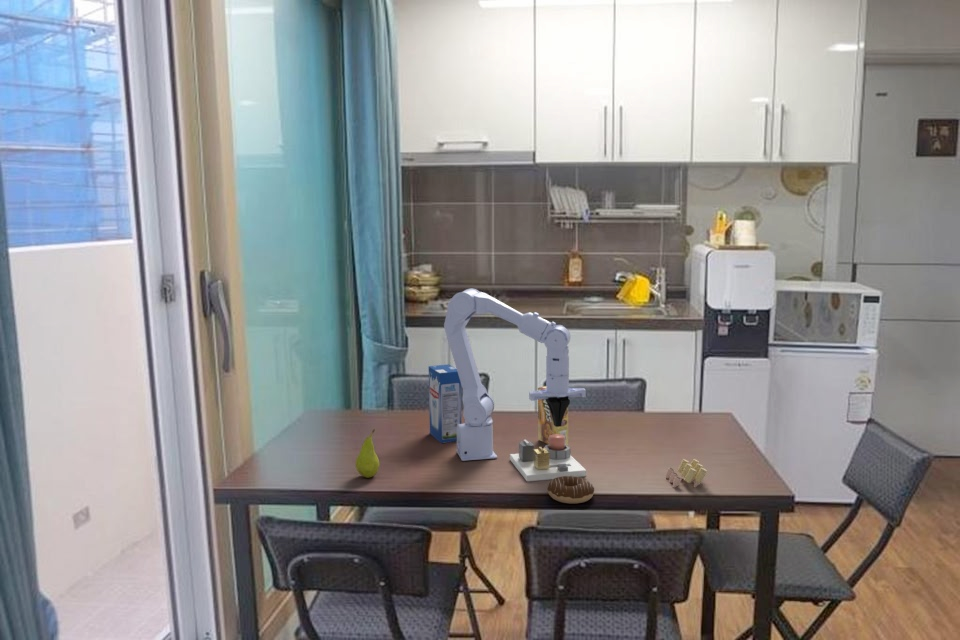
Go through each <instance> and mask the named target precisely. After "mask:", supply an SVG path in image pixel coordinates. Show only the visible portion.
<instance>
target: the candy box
mask: <svg viewBox="0 0 960 640" xmlns="http://www.w3.org/2000/svg"><path fill="white" fill-rule="evenodd" d="M544 389H546V385H545V386H542V387H541V386H540V387H537V391H538V390H544ZM537 410H538V411H537V423H538V424H537V428H538V429H537V432H538V435H537V436H538V437H537V439H538V441H540V442H542V443H545V444H546V445H548V444H549V436H550V435H553V434H561V435H564V436H565V445H568V446H569V406H568V407H567V409H566V411H565V414H564V416H563V420H562V424H561V427H556V426H554V423H553V418H552V414H551V411H550V409H549V406H548V404H547V402H546V400H545V399H540V400H537Z"/></svg>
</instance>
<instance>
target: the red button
mask: <svg viewBox="0 0 960 640" xmlns="http://www.w3.org/2000/svg"><path fill="white" fill-rule="evenodd" d="M549 448H550V449H552V450H563V449H565V436H564V435H561V434H553V435H550V436H549Z"/></svg>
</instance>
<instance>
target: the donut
mask: <svg viewBox="0 0 960 640" xmlns="http://www.w3.org/2000/svg"><path fill="white" fill-rule="evenodd" d="M547 493H548V495H549V496H550V498H552V499H553V500H555V501H557V502H559V503H563V504H571V505H572V504H573V505H574V504H581V503H585V502H588V501H590V499H592V497H593V495H594V494H595V487H594V485H593V483H591V482H590V481H588V480H587V479H585V478H583V477H574V476H562V477H557V478H554V479H550V481H549V482H548V484H547Z"/></svg>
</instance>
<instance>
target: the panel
mask: <svg viewBox="0 0 960 640" xmlns="http://www.w3.org/2000/svg"><path fill="white" fill-rule="evenodd" d="M544 448H545V449H546V450H547V451H548V452H549V469H539V470H538V469H537V468H536V467H535V466H534V461H522V460H521V459H520V458H519V453H509V460H510V461H511V463H512V464H513V466H514V467H515V469H517V470H518V472H519V474H521V476H522V477H523V478H524V480H525V481H526V482H535V481H546V480H547V481H549V480H553V479H554V478H557V477H562V476H574V477H579V478H582V477H587V469H586V468H585V467H584V466H582V464H581V463H580V462H579V461H577V460H576V459H575V458H574V457H573V456H572V454H571V447H570V446H569V444H568V445H565V449H563V450H552V449H550V448H549V444H546V445H544V446H543V449H544Z"/></svg>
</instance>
